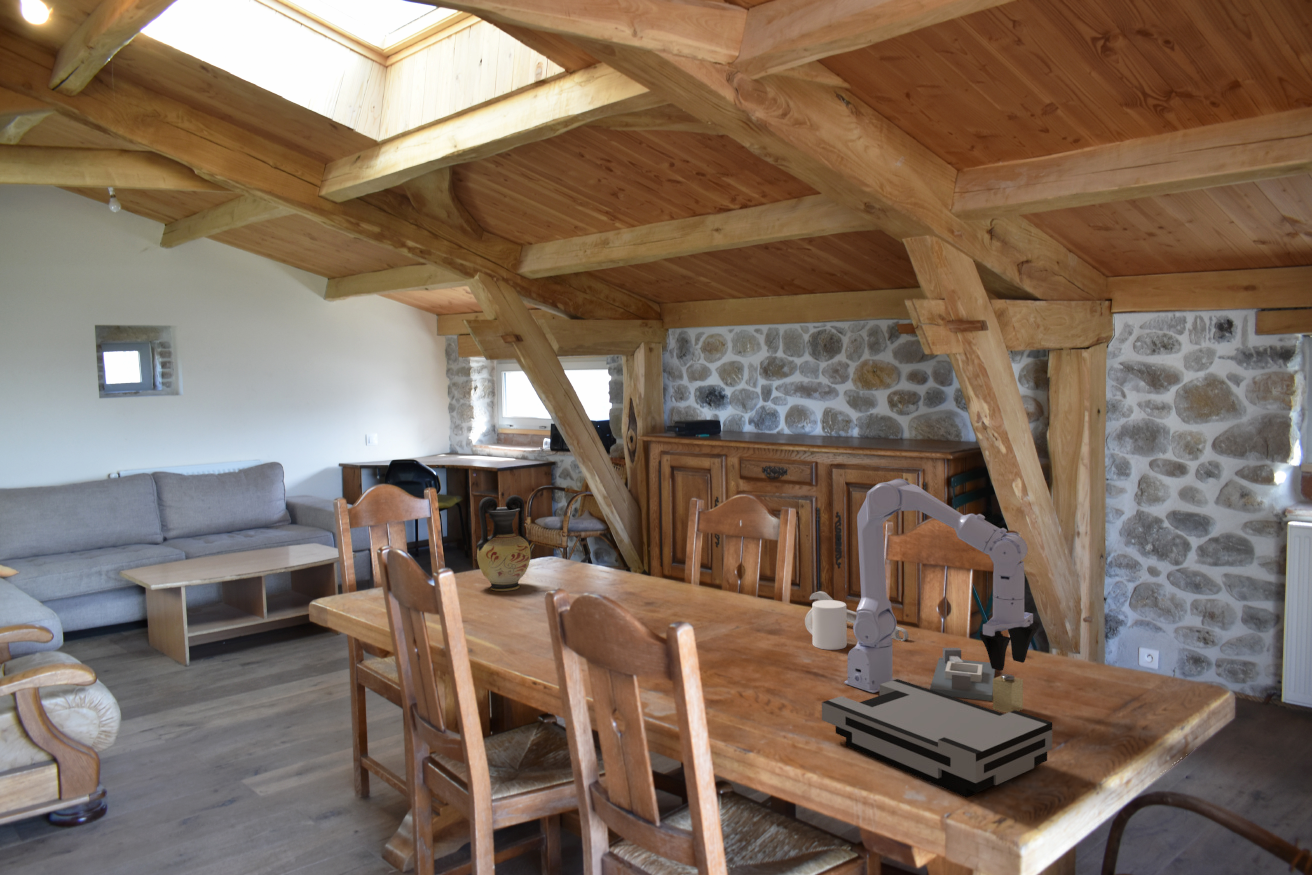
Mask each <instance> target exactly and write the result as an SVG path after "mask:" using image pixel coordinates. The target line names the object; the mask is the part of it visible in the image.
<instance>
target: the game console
mask: <svg viewBox="0 0 1312 875" xmlns="http://www.w3.org/2000/svg"><path fill="white" fill-rule="evenodd" d="M878 692H879V695H878V696H875V697H871V698H868V699H866V700H862V701H856V700H854V699H851V698H849V697H845V696H843V695H841V696H838V697H834V698H831V699H828V700H825V701H822V702H821V721H823V722H824V723H825V722H826V723H827V724H831V725H833V726H835V734H836V735H838V736H841V737H843V738H845V746H846V747H848V748H849V749H850V748H851V749H852V750H854V751H858V752H860V753H862V754H864V755H866V756H868V757H871V758H874V759H876V760H878V761H879V762H883V763H885V764H888V765H889V766H892V767H894V768H897V769H899V770H901V771H904V772H906V773H908V774H910V775H913V776H915V777H918V778H919V779H922V780H924V781H926V782H929V783H931V784H934V785H936V786H938V787H941V788H942V789H945V790H948V791H949V792H952V793H954V794H957V795H959V796H962V797H963V798H968V797H971V796H973V795H975V794H978V793H980V792H982V791H984V790H987V789H989V788H991V787H992V786H997V785H1000V784H1002V783H1004V782H1007V781H1009V780H1011V779H1013V778H1015V777H1017V776H1019V775H1021V774H1023V773H1026V772H1028V771H1030V770H1033V769H1035V767H1036V766H1039V765H1041V764H1043V763H1045V762H1048V752H1049V751H1051V750H1052V749H1053V721H1050V720H1046V719H1045V718H1044V719H1043V718H1040V717H1037V716H1034V715H1031V714H1028V713H1026V712H1022V711H1016V710H1014V711H1011V712H1009V713H1004V712H1001V711H998V710H995V709H992V708H991V709H990V708H987V707H985V706H982V705H979V704H975V703H973V702H969V701H966V700H963V699H961V698H958V697H952V696H948V695H945V694H942V693H939V692H936V691H933V690H930V688H927V687H923V686H920V685H917V684H914V683H911V682H909V681H905V680H903V679H899V678H895V680H892V681H889V682H886V683H883V684H879V691H878ZM1034 766H1035V767H1034Z"/></svg>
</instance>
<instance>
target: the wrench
mask: <svg viewBox="0 0 1312 875" xmlns="http://www.w3.org/2000/svg"><path fill="white" fill-rule="evenodd" d="M809 600H810V601H811V600H817V601H820V600H834V598H832V597H831V596H830V595H829V594H828V593H827V592H825V591H823V590H822V591H821V590H819V591H817V592H812V593H811V594H810V596H809ZM856 617H857V611H853V610H850V609H848V608H847V623H851V624H853V625H854V623H855V620H856ZM900 632H902V634H903V638H902V637H901V636H900ZM891 638H892V640H896V641H899V640H901V642H904V641H907V640H909V632H908V630H907V629H905V628H903V627H901V626H900V627H899V626H897V625H896V629H895V631H894V632H893V633H892V634H891Z"/></svg>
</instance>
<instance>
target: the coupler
mask: <svg viewBox="0 0 1312 875" xmlns="http://www.w3.org/2000/svg"><path fill="white" fill-rule="evenodd" d="M1023 709H1024V679H1022V678H1018V677H1015V675H1013V674H1008V673H1003V674H1001V675H999V676H996V677H994V678H993V696H992V710H995V711H998V712H1001V713H1005V712H1006V713H1009V712H1011V711H1014V710H1016V711H1019V712H1021V711H1023ZM1020 710H1021V711H1020ZM1006 713H1005V714H1006Z"/></svg>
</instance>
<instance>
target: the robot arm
mask: <svg viewBox="0 0 1312 875" xmlns="http://www.w3.org/2000/svg"><path fill="white" fill-rule="evenodd" d="M898 511H901V512H907V511H908V512H911V511H913V512H914V511H919V512H920V513H921V512H922V513H923V514H925V515H927V516H929V517H931V518H933V519H935V520H937V521H939V522H941V523H942V524H945V525H946V526H948V527H950V528H952V529H954V531H955V534H956V538H958V539H959V540H961V541H963V542H965V543H966V544H967V545H970V546H971V547H972V548H975V549H976V550H979V551H980V552H982V553H983V554H985V555H988V556H989V559H990V560H991V562H992V563H993V574H992V617H990V619H989V620H988V621H987V622H986V623H983V624H982V630H980V631H979V638H980V639H981V641H982V642H983V644H984V646H985V649H986V652H987V655H988V659H989V663H990V664H991V667H992V669H995V671H1001V672H1002V671H1003V670H1004V669H1005V664H1006V663H1005V661H1006V652H1007V649H1008V646H1009V643H1010V647H1011V656H1012V660H1013V661H1014V662H1017V663H1018V662H1019V663H1022V664H1024V663H1025V661H1026V658H1027V655H1028V651H1029V647H1030V645H1031V641H1032V640H1033V637H1034V635H1036V633H1037V631H1038V630H1037V629H1038V628H1037V626H1036V625H1032V624H1034V613H1031V612H1025V580H1026V578H1025V561H1024V559H1025V558H1026V557H1027V554H1028V544H1027V542H1026V540H1025V539H1023V537H1022V536H1020V534H1018V533H1015V532H1008V530H1007V529H1006V528H1005V527H1002V528H1000V527H998V526H996V525H994V524H992V523H991V522H989V521H988V520H985V519H986V517H985V516H984V515H983V514H982V513H978V514H975V513H968V514H965V515H964V514H963V513H961V512H959V511H957V510H956V509H954V508H953V507H951V506H950V505H948V504H946V503H945V502H943V501H942V500H940V499H939V498H936V497H935V496H933V495H932V494H930V493H929V492H927V491H926V490H925V489H923V488H921V487H920V486H918V485H916V484H913V483H910V482H909V481H907V480H906V479H903V478H895V479H892V480H890V481H887V482H886V481H885V482H879V483H877V484H876V485H874V486H873V487H872V488H871V489H870V490H868V491H867V492H866V498H865V499H864V502H863V504H862V505H861V507H860V509H859V511H858V512H857V516H856V522H857V523H856V524H857V540H858V543H857V544H858V559H859V562H858V563H859V579H860V597H861V598H860V601H859V603H858V605H857V608H856V612H857V617H856V620H855V623H854V624H853V627H852V631H853V634H854V637H855V639H856V640H857V643H856V645H855V646H854V647H853V648H851V649H850V650H849V651H848V654H847V680H844V684H845V685H847V686H850V687H854V688H856V689H859V690H863V691H866V692H869V693H872V694H875V693H878V692H879V684H883V683H886V682H889V681H892V680H896V678H893V639H892V638H891V634H892V633H893V632H894V631H895V629H896V626H897V619H896V616H895V614H894V612H893V608H892V602H891V601H890V599H889V598H888V595H887V594H888V593H887V579H886V577H887V576H886V559H885V556H886V555H885V542H884V536H885V535H884V523H885V522H887V520H888V519H890V518H891V517H892V516H893V515H894V514H895V513H897V512H898ZM1004 631H1007V632H1008V635H1009V636H1005V635H1004V634H1003V633H1002V632H1004Z"/></svg>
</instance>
